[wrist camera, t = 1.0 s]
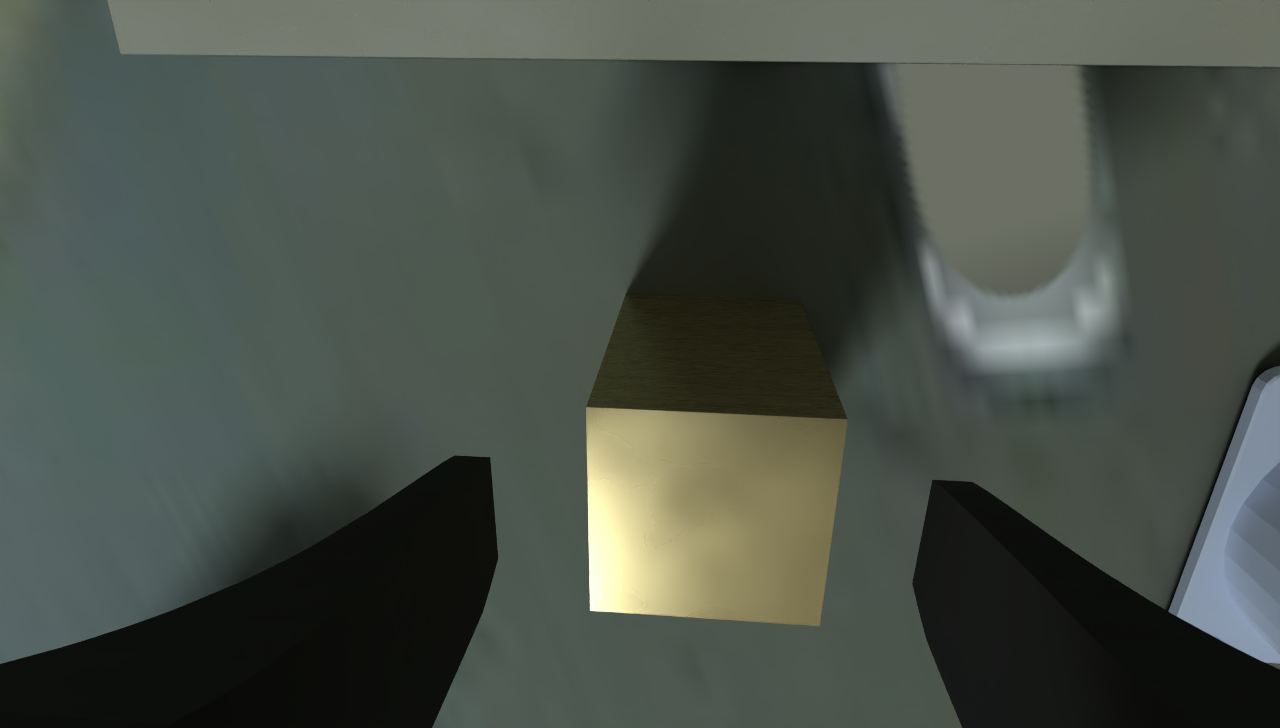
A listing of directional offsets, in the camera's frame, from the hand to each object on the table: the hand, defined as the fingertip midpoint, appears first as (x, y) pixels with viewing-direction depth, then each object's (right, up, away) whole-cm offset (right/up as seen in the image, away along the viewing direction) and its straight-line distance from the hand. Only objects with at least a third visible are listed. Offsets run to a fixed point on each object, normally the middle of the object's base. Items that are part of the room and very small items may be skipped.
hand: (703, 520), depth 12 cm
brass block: (+1, +2, +6) cm, 6 cm away
